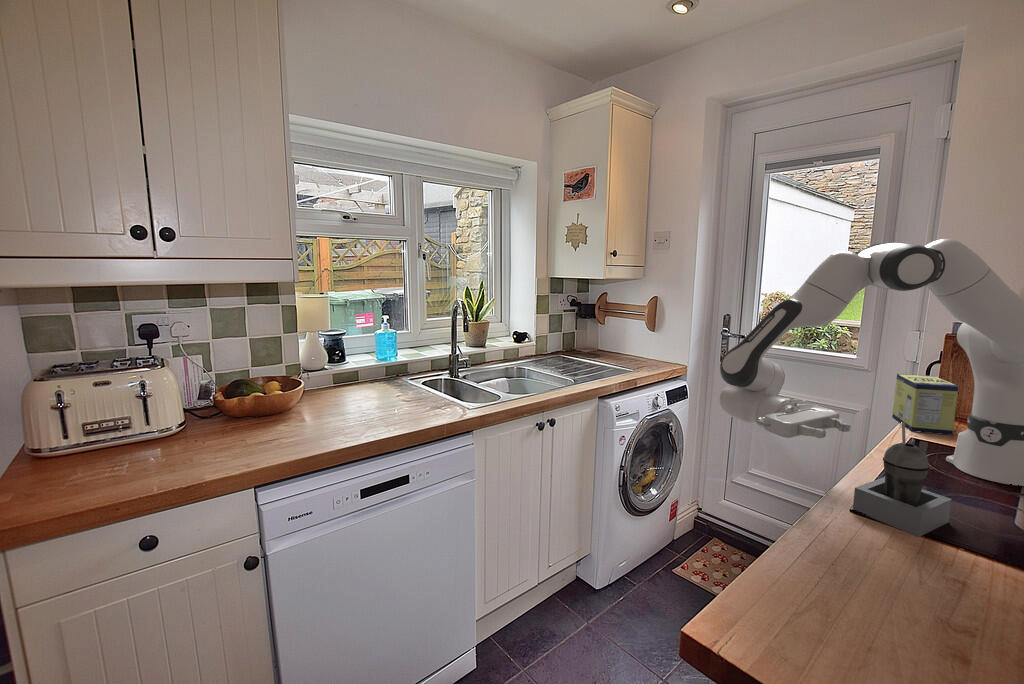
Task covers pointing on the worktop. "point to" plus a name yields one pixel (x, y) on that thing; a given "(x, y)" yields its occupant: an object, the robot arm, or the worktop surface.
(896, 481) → the beverage cup
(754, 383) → the robot arm
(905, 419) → the protein box
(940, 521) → the holder block
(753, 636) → the worktop surface
